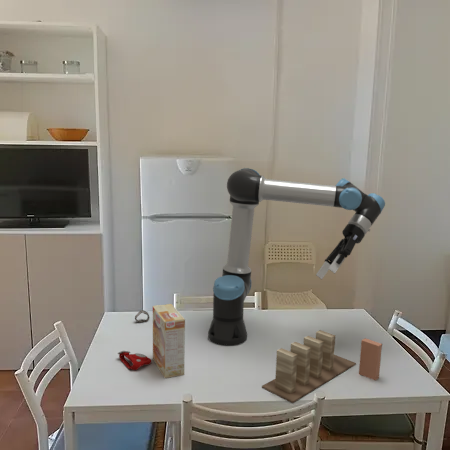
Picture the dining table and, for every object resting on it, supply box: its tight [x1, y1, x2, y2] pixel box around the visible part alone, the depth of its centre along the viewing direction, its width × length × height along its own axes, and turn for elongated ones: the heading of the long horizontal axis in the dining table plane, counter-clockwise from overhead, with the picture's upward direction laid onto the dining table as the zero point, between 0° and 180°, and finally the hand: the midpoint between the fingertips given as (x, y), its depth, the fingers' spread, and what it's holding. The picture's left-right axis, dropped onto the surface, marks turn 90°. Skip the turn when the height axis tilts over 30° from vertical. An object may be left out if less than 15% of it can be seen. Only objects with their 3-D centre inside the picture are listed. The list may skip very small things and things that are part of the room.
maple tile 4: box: [274, 347, 297, 394], centre depth 144 cm, size 2×6×12 cm, turn 45°
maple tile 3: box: [289, 341, 311, 386], centre depth 149 cm, size 2×6×12 cm, turn 45°
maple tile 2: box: [303, 335, 324, 378], centre depth 154 cm, size 2×6×12 cm, turn 45°
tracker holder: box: [117, 350, 153, 371], centre depth 160 cm, size 12×4×10 cm
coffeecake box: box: [152, 303, 186, 379], centre depth 157 cm, size 15×7×20 cm, turn 23°
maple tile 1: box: [315, 329, 336, 371], centre depth 159 cm, size 2×6×12 cm, turn 45°
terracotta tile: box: [358, 337, 383, 381], centre depth 155 cm, size 2×6×12 cm, turn 45°
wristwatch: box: [134, 309, 150, 324], centre depth 196 cm, size 4×6×5 cm, turn 122°
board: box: [261, 354, 357, 404], centre depth 155 cm, size 36×12×1 cm, turn 135°
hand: (324, 274), depth 167 cm, fingers open, 13 cm apart
